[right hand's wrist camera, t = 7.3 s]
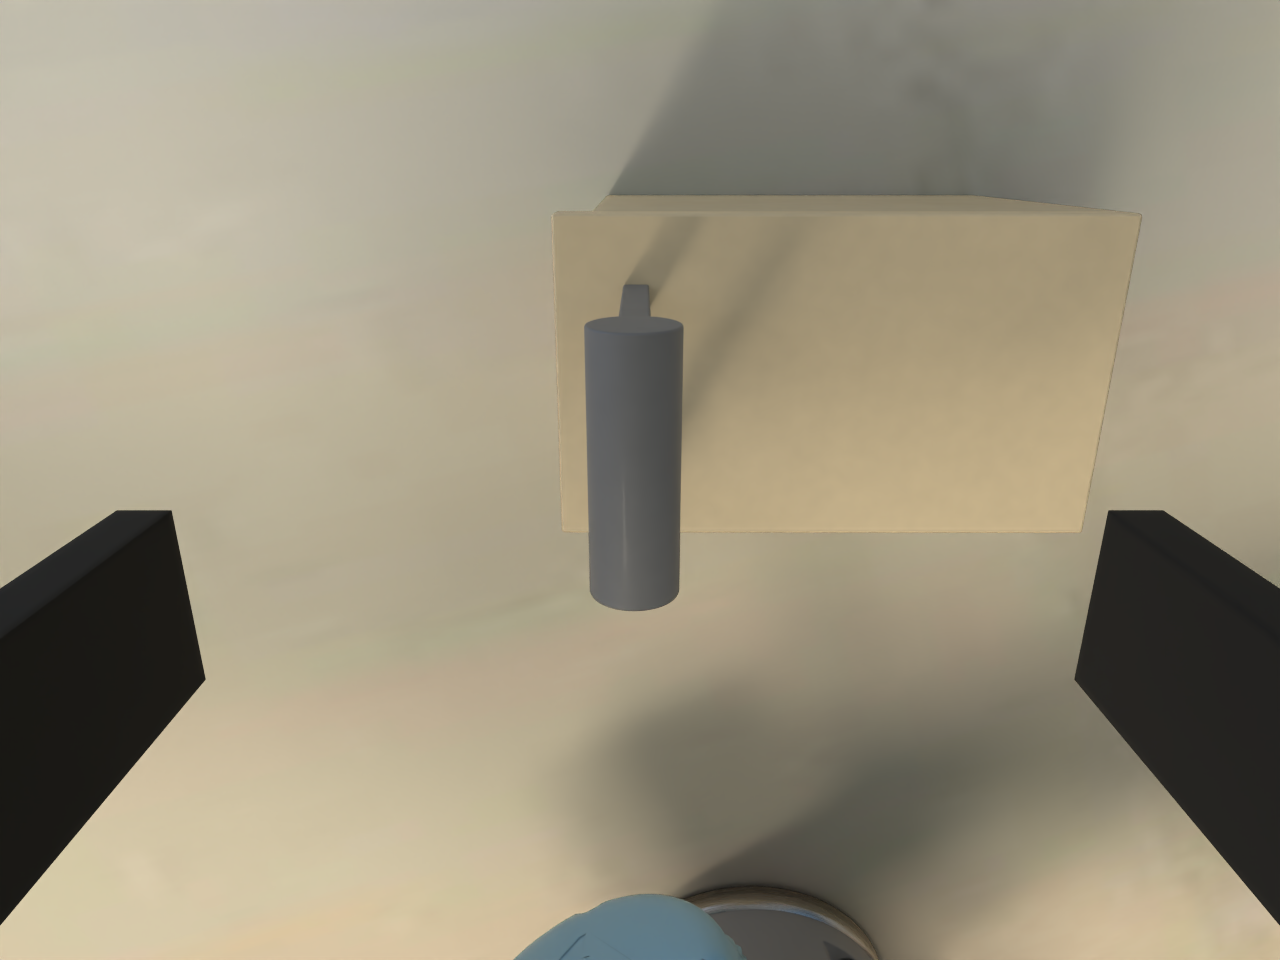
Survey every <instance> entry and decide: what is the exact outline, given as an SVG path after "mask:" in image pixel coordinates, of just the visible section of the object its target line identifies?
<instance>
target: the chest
mask: <svg viewBox="0 0 1280 960" xmlns="http://www.w3.org/2000/svg"><path fill="white" fill-rule="evenodd" d="M593 211H1113V210H1104V209H1095V208H1086V207H1076V206H1067V205H1058V204H1049V203H1040V202H1030V201H1021V200H1012V199H1003V198H994V197H984V196H975V195H608V196H607V197H605V198H604V200H603V201H602V202H601V203H600V204H599V205H598V206H597V207H596V208H595V209H594V210H593Z"/></svg>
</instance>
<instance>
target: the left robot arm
mask: <svg viewBox="0 0 1280 960" xmlns="http://www.w3.org/2000/svg"><path fill="white" fill-rule="evenodd" d="M514 960H879V959H878V956H877V954H876V951H875V949H874V947H873V945H872V943H871V942H870V940H869V939H868V937H867V936H866V934H865V933H864V932H863V931H862V930H861V929H860V928H859V926H858V925H857V924H855V923H854V922H853V921H852V920H851V919H850V918H849V917H847V916H846V915H845V914H843V913H842V912H841V911H839V910H838V909H836V908H834V907H833V906H831V905H829V904H827V903H825V902H823V901H821V900H819V899H816V898H813V897H811V896H808V895H805V894H802V893H798V892H795V891H790V890H785V889H780V888H771V887H756V886H749V887H733V888H724V889H719V890H714V891H709V892H706V893H702V894H698V895H695V896H692V897H690V898H687V899H684V900H683V899H679V898H676V897H672V896H666V895H660V894H639V895H631V896H625V897H620V898H616V899H612V900H609V901H606V902H604V903H601V904H600V905H599V906H597V907H595V908H594V909H592V910H590V911H588V912H586V913H582V914H575V915H573V916H571V917H570V918H568V919H566V920H564V921H563V922H561V923H559V924H558V925H556V926H555V927H553V928H552V929H550V930H549V931H548V932H546V933H545V934H543V935H542V936H541V937H539V938H538V939H536V940H535V941H534V942H533V943H532V944H530V945H529V946H528V947H527V948H526V949H524V950H523V951H522V952H521V953H520V954H519V955H518V956H517V957H516V958H515V959H514Z"/></svg>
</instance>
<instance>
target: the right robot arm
mask: <svg viewBox="0 0 1280 960" xmlns="http://www.w3.org/2000/svg"><path fill="white" fill-rule="evenodd" d="M205 680H206V679H205V674H204V669H203V664H202V659H201V654H200V649H199V644H198V639H197V634H196V630H195V625H194V620H193V615H192V610H191V605H190V600H189V595H188V590H187V585H186V580H185V575H184V570H183V565H182V560H181V555H180V550H179V545H178V540H177V535H176V530H175V525H174V520H173V515H172V511H171V510H117V511H115V512H114V513H112V514H111V515H109V516H108V517H106V518H105V519H103V520H102V521H100V522H99V523H97V524H96V525H94V526H93V527H91V528H90V529H88V530H87V531H86V532H84V533H83V534H81V535H80V536H78V537H77V538H75V539H74V540H72V541H71V542H69V543H68V544H66V545H65V546H63V547H62V548H60V549H59V550H57V551H56V552H54V553H53V554H51V555H50V556H48V557H47V558H45V559H44V560H42V561H41V562H39V563H38V564H36V565H35V566H33V567H32V568H30V569H29V570H27V571H26V572H24V573H23V574H21V575H20V576H18V577H17V578H15V579H14V580H13V581H11V582H10V583H8V584H7V585H5V586H4V587H2V588H1V589H0V925H1V924H2V923H3V921H4V920H5V919H6V918H7V917H8V915H9V914H10V913H11V912H12V911H13V909H14V908H15V907H16V906H17V905H18V904H19V902H20V901H21V900H22V899H23V898H24V896H25V895H26V894H27V893H28V892H29V890H30V889H31V888H32V887H33V886H34V884H35V883H36V882H37V881H38V880H39V878H40V877H41V876H42V875H43V874H44V872H45V871H46V870H47V869H48V868H49V866H50V865H51V864H52V863H53V862H54V860H55V859H56V858H57V857H58V856H59V854H60V853H61V852H62V851H63V850H64V848H65V847H66V846H67V845H68V844H69V842H70V841H71V840H72V839H73V838H74V836H75V835H76V834H77V833H78V832H79V830H80V829H81V828H82V827H83V826H84V824H85V823H86V822H87V821H88V820H89V818H90V817H91V816H92V815H93V814H94V812H95V811H96V810H97V809H98V808H99V807H100V805H101V804H102V803H103V802H104V801H105V799H106V798H107V797H108V796H109V795H110V793H111V792H112V791H113V790H114V789H115V787H116V786H117V785H118V784H119V783H120V781H121V780H122V779H123V778H124V777H125V775H126V774H127V773H128V772H129V771H130V769H131V768H132V767H133V766H134V765H135V763H136V762H137V761H138V760H139V759H140V757H141V756H142V755H143V754H144V753H145V751H146V750H147V749H148V748H149V747H150V745H151V744H152V743H153V742H154V741H155V739H156V738H157V737H158V736H159V735H160V733H161V732H162V731H163V730H164V729H165V727H166V726H167V725H168V724H169V723H170V721H171V720H172V719H173V718H174V717H175V715H176V714H177V713H178V712H179V711H180V710H181V708H182V707H183V706H184V705H185V704H186V702H187V701H188V700H189V699H190V698H191V696H192V695H193V694H194V693H195V692H196V690H197V689H198V688H199V687H200V686H201V684H202V683H203V682H204V681H205ZM1074 680H1075V681H1076V682H1077V683H1078V684H1079V686H1080V687H1081V688H1082V689H1083V690H1084V692H1085V693H1086V694H1087V695H1088V696H1089V698H1090V699H1091V700H1092V701H1093V702H1094V704H1095V705H1096V706H1097V707H1098V708H1099V710H1100V711H1101V712H1102V713H1103V714H1104V715H1105V717H1106V718H1107V719H1108V720H1109V721H1110V723H1111V724H1112V725H1113V726H1114V727H1115V729H1116V730H1117V731H1118V732H1119V733H1120V735H1121V736H1122V737H1123V738H1124V739H1125V741H1126V742H1127V743H1128V744H1129V745H1130V747H1131V748H1132V749H1133V750H1134V751H1135V753H1136V754H1137V755H1138V756H1139V757H1140V759H1141V760H1142V761H1143V762H1144V763H1145V765H1146V766H1147V767H1148V768H1149V769H1150V771H1151V772H1152V773H1153V774H1154V775H1155V777H1156V778H1157V779H1158V780H1159V781H1160V783H1161V784H1162V785H1163V786H1164V787H1165V789H1166V790H1167V791H1168V792H1169V793H1170V795H1171V796H1172V797H1173V798H1174V799H1175V801H1176V802H1177V803H1178V804H1179V805H1180V807H1181V808H1182V809H1183V810H1184V811H1185V812H1186V814H1187V815H1188V816H1189V817H1190V818H1191V820H1192V821H1193V822H1194V823H1195V824H1196V826H1197V827H1198V828H1199V829H1200V830H1201V832H1202V833H1203V834H1204V835H1205V836H1206V838H1207V839H1208V840H1209V841H1210V842H1211V844H1212V845H1213V846H1214V847H1215V848H1216V850H1217V851H1218V852H1219V853H1220V854H1221V856H1222V857H1223V858H1224V859H1225V860H1226V862H1227V863H1228V864H1229V865H1230V866H1231V868H1232V869H1233V870H1234V871H1235V872H1236V874H1237V875H1238V876H1239V877H1240V878H1241V880H1242V881H1243V882H1244V883H1245V884H1246V886H1247V887H1248V888H1249V889H1250V890H1251V892H1252V893H1253V894H1254V895H1255V896H1256V898H1257V899H1258V900H1259V901H1260V902H1261V904H1262V905H1263V906H1264V907H1265V908H1266V909H1267V911H1268V912H1269V913H1270V914H1271V915H1272V917H1273V918H1274V919H1275V920H1276V921H1277V923H1278V924H1279V925H1280V589H1279V588H1278V587H1276V586H1275V585H1273V584H1272V583H1270V582H1269V581H1267V580H1266V579H1265V578H1263V577H1262V576H1260V575H1259V574H1257V573H1256V572H1254V571H1253V570H1251V569H1250V568H1248V567H1247V566H1245V565H1244V564H1242V563H1241V562H1239V561H1238V560H1236V559H1235V558H1233V557H1232V556H1230V555H1229V554H1227V553H1226V552H1224V551H1223V550H1221V549H1220V548H1218V547H1217V546H1215V545H1214V544H1212V543H1211V542H1209V541H1208V540H1206V539H1205V538H1203V537H1202V536H1200V535H1199V534H1197V533H1196V532H1194V531H1193V530H1192V529H1190V528H1189V527H1187V526H1186V525H1184V524H1183V523H1181V522H1180V521H1178V520H1177V519H1175V518H1174V517H1172V516H1171V515H1169V514H1168V513H1166V512H1165V511H1163V510H1108V515H1107V520H1106V525H1105V530H1104V535H1103V540H1102V545H1101V550H1100V555H1099V560H1098V565H1097V570H1096V575H1095V580H1094V585H1093V590H1092V595H1091V600H1090V605H1089V610H1088V615H1087V620H1086V625H1085V629H1084V634H1083V639H1082V644H1081V649H1080V654H1079V659H1078V664H1077V669H1076V674H1075V679H1074Z"/></svg>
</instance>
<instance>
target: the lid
mask: <svg viewBox="0 0 1280 960" xmlns="http://www.w3.org/2000/svg"><path fill="white" fill-rule="evenodd" d="M1141 220H1142V215H1141V214H1139V213H1131V212H1122V211H558V212H555V213H554V214H552V216H551V224H552V254H553V283H554V313H555V342H556V372H557V401H558V430H559V460H560V489H561V519H562V531H563V532H589V569H590V592H591V595H592V596H593V598H594V599H595V600H596V601H597V602H599V603H600V604H602V605H604V606H607V607H610V608H613V609H618V610H624V611H644V610H651V609H655V608H659V607H662V606H664V605H667V604H668V603H670V602H671V601H673V600H674V599H675V598H676V596H677V595H678V592H679V567H680V532H913V533H1080V532H1081V531H1082V527H1083V522H1084V517H1085V512H1086V506H1087V501H1088V496H1089V491H1090V486H1091V480H1092V475H1093V470H1094V465H1095V460H1096V454H1097V449H1098V444H1099V439H1100V433H1101V428H1102V423H1103V418H1104V413H1105V407H1106V402H1107V397H1108V392H1109V387H1110V381H1111V376H1112V371H1113V366H1114V360H1115V355H1116V350H1117V345H1118V340H1119V334H1120V329H1121V324H1122V319H1123V314H1124V308H1125V303H1126V298H1127V293H1128V288H1129V282H1130V277H1131V272H1132V267H1133V261H1134V256H1135V251H1136V246H1137V241H1138V235H1139V230H1140V225H1141Z"/></svg>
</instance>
